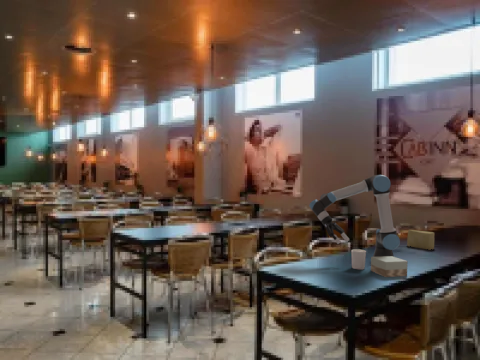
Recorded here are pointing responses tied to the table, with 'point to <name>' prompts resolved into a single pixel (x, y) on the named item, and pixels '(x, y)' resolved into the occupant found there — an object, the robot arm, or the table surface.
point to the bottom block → (389, 272)
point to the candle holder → (358, 258)
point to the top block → (389, 262)
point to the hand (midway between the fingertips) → (343, 241)
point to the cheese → (420, 239)
